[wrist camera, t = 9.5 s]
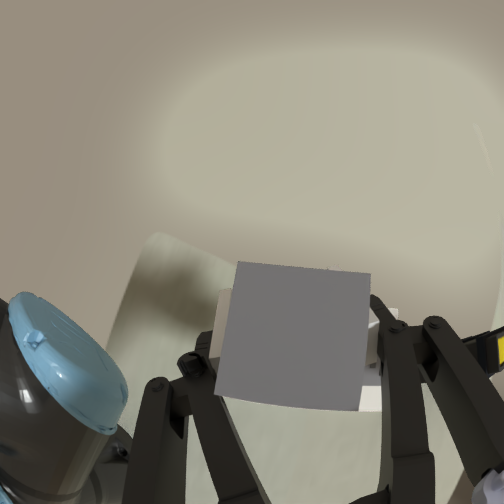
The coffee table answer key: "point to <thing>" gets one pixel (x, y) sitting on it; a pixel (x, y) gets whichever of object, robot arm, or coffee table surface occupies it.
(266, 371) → the grey tall block
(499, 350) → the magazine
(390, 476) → the robot arm
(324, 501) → the coffee table surface
